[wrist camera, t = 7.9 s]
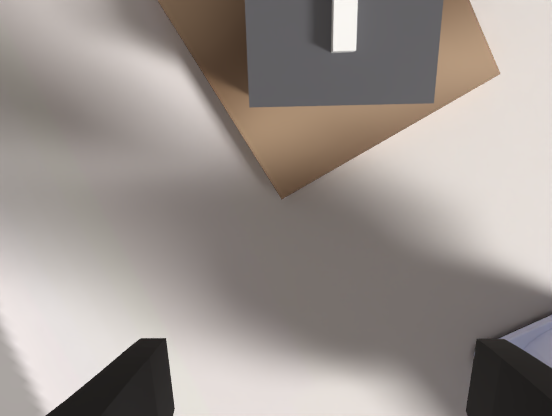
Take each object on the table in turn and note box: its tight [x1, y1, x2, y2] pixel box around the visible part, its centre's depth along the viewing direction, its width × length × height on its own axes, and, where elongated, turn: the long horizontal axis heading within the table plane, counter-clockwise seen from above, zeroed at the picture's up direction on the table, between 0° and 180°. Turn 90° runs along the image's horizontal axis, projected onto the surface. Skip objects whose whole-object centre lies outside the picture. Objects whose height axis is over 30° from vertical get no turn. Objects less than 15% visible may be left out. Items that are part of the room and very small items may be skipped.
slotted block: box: [245, 0, 443, 108], centre depth 13 cm, size 5×5×6 cm
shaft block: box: [158, 0, 500, 199], centre depth 14 cm, size 10×10×4 cm
